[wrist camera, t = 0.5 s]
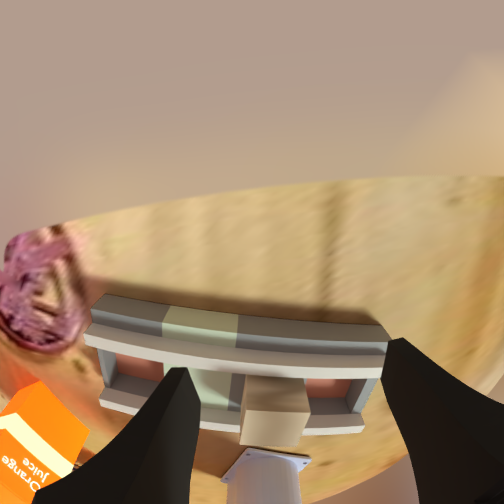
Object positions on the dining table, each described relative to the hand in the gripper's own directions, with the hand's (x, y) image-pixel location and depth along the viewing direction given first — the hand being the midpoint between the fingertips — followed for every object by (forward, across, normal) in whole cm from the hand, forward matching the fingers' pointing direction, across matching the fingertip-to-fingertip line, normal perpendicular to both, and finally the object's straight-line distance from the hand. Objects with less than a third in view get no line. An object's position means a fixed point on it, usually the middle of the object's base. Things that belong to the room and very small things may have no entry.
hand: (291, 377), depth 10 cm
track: (+10, +4, +9) cm, 14 cm away
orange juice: (+9, +29, +17) cm, 35 cm away
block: (+8, +1, +9) cm, 12 cm away
